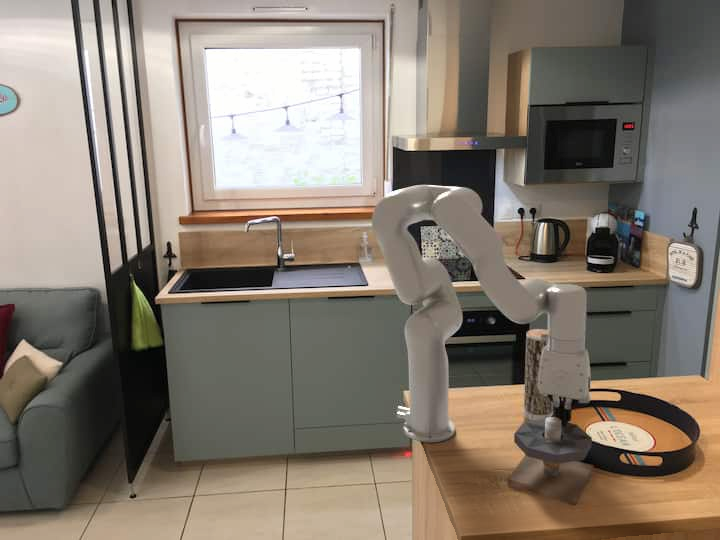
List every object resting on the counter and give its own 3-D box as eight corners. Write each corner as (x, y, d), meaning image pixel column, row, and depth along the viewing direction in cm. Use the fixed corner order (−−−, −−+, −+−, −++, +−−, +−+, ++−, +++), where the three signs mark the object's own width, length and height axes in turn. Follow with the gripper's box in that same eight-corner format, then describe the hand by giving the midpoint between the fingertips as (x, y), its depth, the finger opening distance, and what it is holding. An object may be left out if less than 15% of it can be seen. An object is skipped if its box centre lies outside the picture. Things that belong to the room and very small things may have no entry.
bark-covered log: (547, 423, 160) (550, 328, 154) (556, 436, 153) (560, 338, 147) (520, 424, 159) (522, 329, 153) (528, 438, 153) (531, 339, 147)
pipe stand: (507, 485, 134) (508, 426, 131) (529, 454, 145) (531, 400, 142) (575, 505, 127) (578, 443, 123) (593, 471, 138) (596, 414, 135)
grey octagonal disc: (507, 450, 132) (507, 442, 132) (530, 422, 144) (530, 413, 143) (578, 469, 124) (578, 460, 124) (596, 437, 136) (596, 429, 136)
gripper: (525, 343, 135) (523, 422, 140) (598, 354, 127) (594, 438, 132) (536, 332, 141) (534, 408, 146) (607, 343, 133) (603, 423, 138)
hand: (563, 422), depth 139 cm, fingers closed
